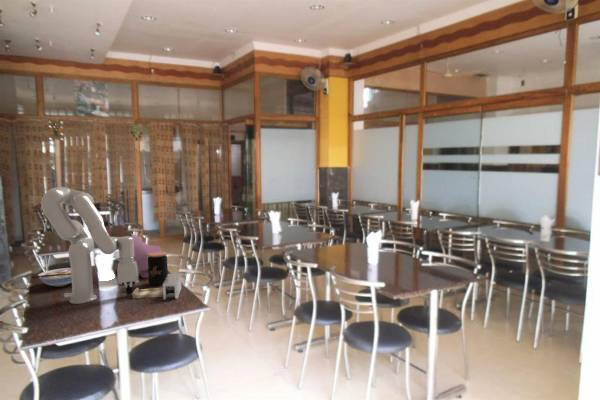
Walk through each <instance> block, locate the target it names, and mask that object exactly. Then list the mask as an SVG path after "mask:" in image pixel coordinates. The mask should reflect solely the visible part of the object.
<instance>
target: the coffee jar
mask: <svg viewBox="0 0 600 400" xmlns="http://www.w3.org/2000/svg"><path fill="white" fill-rule="evenodd" d="M167 255H168V254H167V252H166V251H162V252H152V253H149V254H148V275H149V277H148V284H149V286H152V287H163V283H164V281H165V279H166V277H167V275H168V274H169V272H168V271H169V270H168V256H167Z"/></svg>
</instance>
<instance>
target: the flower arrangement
mask: <svg viewBox="0 0 600 400" xmlns="http://www.w3.org/2000/svg"><path fill="white" fill-rule="evenodd" d="M131 237H133V240H134V254H135V261H136V262H137V266H138V272H139V276H140V277H142V278H144V279H147V278H148V279H149V275H148V254H149V253H152V252H163V251H162V249H161V247H160V246H159V245H149V244H147V243H146V242H145V241H143V238H142V237H140V236H138V235H136V234H134V233H131Z"/></svg>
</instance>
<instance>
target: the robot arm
mask: <svg viewBox="0 0 600 400" xmlns="http://www.w3.org/2000/svg"><path fill="white" fill-rule="evenodd" d="M94 201H95V200H94V198H93V196H92V195H91V194H89V193H88V192H85V191H84V192H83V191H79V190H77V189H73V188H70V187H65V186H58V187H53V188H50V189H48V190H47V191H46V192H45V193H44V194H43V196H42V198H41V202H40V207H41V210H42V213H43V214H44V216H45V218H47V220H48V221H49V223H50V224H51V226H52V227H53V229H54V230H55V232H56V233H57V235H58V236H59V238H60V239H62V240H64V241H69V242H70V245H69V247H68V258H69V262H70V263H69V265H70V268H71V277H72V283H71V289H72V291H71V292H64V294H63V297H64V299H69V303H71V304H73V305H78V304H79V305H80V304H87V303H90V302H91V303H92V302H94V301H95V300H97V298H98V296H97V294H94V285H93V284H94V283H93V282H94V281H93V267H92V259H91V253H92V251H93V250H94V248H95V244H96V246H97V248H98V249H99V251H101V252H102V253H103V254H105V255H112V254H113V253H115V252H116V251H117V250H118V258H116V262H118V263H117V270H116V272H117V275H116V277H117V285H123V287H124V288H125V292H126V294H127V296H128V295H132V293H133V292H134V290H133V286H134V285H135V284H137V283H140V274H139V272H138V266H137V262H136V261H135V254H134V240H133V237H132V236H130V235H126V236H110V234H109V233H108V231H107V228H106V227H105V222H104V218H103V215H102V214H101V213H100V211H99V210H98V209H97V207H96V206H95V204H94V203H95V202H94ZM62 204H64V205H68V206H72V207H73V208H74V210H75V211H76V213H77V214H78V215H79V217H80V218H81V220H82V221H83V223H84V224H85V226H86V228H87V230H88V232H87V230H86V229H85V227H84V226H83V225H82V223H81V222H80V221H78V220H75V219H71V218H70V216H69V214H68V213H67V211H66V210H65V209H64V208H63V207H62ZM89 234H90V235H89Z"/></svg>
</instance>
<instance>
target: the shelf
mask: <svg viewBox="0 0 600 400" xmlns="http://www.w3.org/2000/svg"><path fill="white" fill-rule="evenodd" d="M182 285H183V284H182V273H181V272H178V273H176V272H175V273H168V275H167V277H166V279H165V281H164V283H163V285H162V288H163V297H162V299H163V300H167V298H174V300H176V299H177V300H178V299H179V296H180V292H181V290H182ZM166 287H167V288H166ZM167 291H173V292H172V293H171V292H170V293H167Z"/></svg>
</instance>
